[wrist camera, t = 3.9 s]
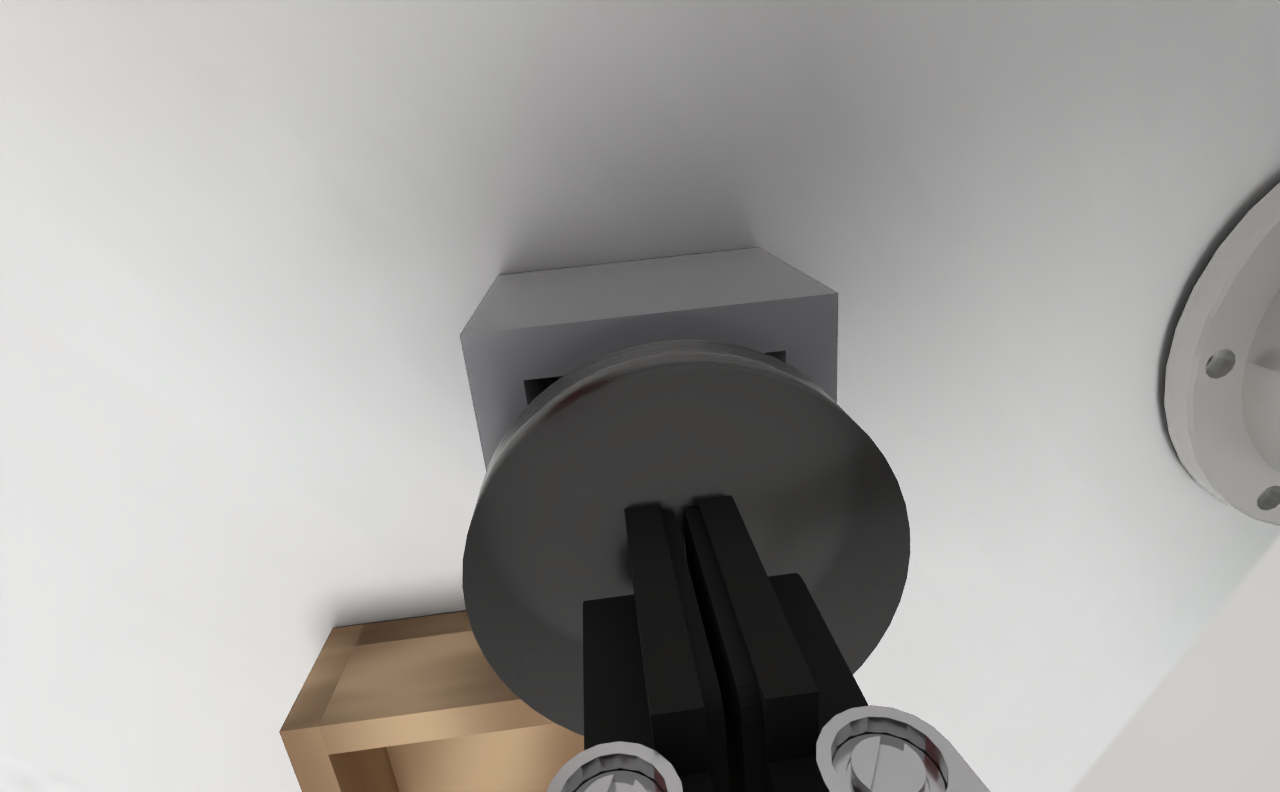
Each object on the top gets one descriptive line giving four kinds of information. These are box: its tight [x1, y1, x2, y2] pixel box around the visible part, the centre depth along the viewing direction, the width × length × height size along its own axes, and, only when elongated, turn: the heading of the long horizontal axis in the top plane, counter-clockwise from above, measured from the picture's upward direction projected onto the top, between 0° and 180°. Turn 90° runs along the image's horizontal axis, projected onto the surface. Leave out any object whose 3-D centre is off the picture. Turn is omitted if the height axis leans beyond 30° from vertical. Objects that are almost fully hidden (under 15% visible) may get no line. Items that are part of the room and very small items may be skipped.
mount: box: [460, 247, 838, 471], centre depth 16 cm, size 7×7×6 cm
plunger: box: [463, 339, 910, 736], centre depth 14 cm, size 7×7×8 cm
